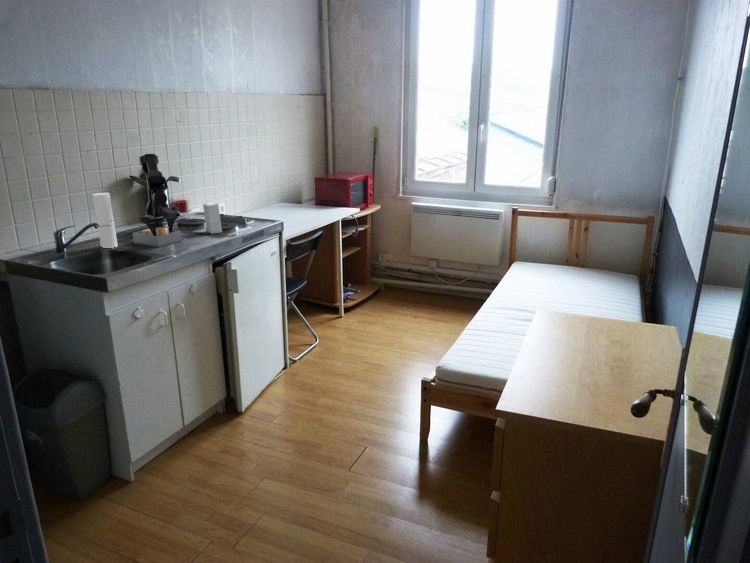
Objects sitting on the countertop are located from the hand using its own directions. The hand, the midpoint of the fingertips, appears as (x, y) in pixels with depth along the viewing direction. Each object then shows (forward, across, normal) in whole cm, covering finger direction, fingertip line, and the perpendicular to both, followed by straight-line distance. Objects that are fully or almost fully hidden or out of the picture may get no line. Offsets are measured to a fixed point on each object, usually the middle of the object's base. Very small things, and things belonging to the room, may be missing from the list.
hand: (163, 234), depth 270 cm
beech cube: (+4, 0, +9) cm, 10 cm away
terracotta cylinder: (+4, 0, 0) cm, 4 cm away
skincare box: (+5, +29, -4) cm, 30 cm away
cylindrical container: (+5, -17, +18) cm, 25 cm away
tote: (+4, 0, +4) cm, 6 cm away
